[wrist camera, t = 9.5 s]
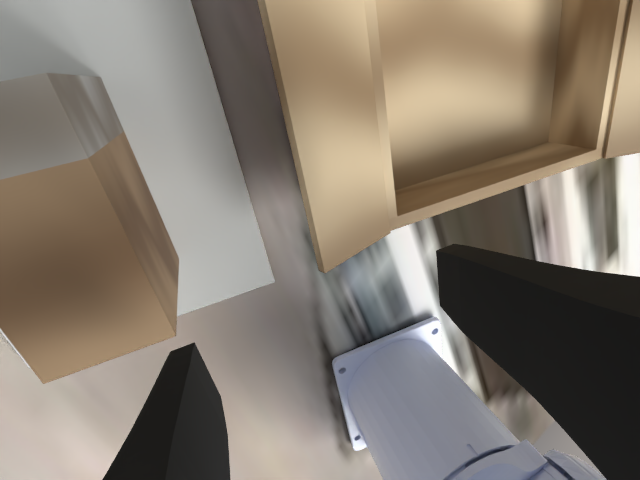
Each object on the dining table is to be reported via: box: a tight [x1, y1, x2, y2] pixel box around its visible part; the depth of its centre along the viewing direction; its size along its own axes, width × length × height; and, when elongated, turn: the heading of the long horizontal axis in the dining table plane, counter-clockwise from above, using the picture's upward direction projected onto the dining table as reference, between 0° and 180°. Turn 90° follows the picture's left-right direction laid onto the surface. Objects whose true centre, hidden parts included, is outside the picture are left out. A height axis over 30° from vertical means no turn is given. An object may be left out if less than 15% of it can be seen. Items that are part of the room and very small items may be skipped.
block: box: [0, 73, 179, 384], centre depth 12 cm, size 8×4×6 cm, turn 11°
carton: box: [257, 0, 640, 273], centre depth 16 cm, size 13×21×5 cm, turn 101°
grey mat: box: [0, 0, 275, 368], centre depth 15 cm, size 14×12×1 cm
